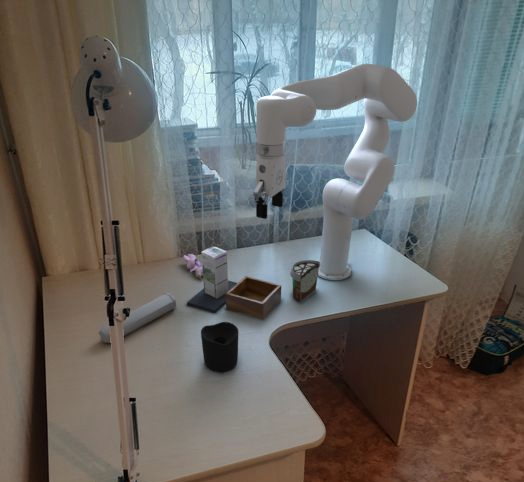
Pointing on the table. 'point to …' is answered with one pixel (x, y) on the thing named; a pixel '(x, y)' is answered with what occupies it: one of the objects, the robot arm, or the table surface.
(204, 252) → the syrup box
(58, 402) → the table surface
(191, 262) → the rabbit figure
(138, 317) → the tube
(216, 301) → the mat
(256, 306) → the open box
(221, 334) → the pen holder
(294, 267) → the food container
